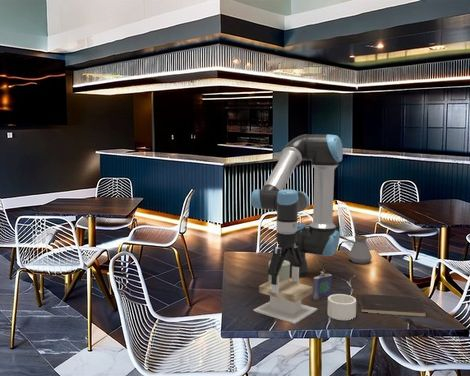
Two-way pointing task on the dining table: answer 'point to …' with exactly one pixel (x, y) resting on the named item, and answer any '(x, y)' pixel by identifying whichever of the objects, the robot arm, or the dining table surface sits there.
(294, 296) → the wavy beige panel
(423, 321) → the dining table surface
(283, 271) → the can
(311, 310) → the stand
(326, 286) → the flask
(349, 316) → the bowl
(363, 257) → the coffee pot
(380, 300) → the hardcover book
